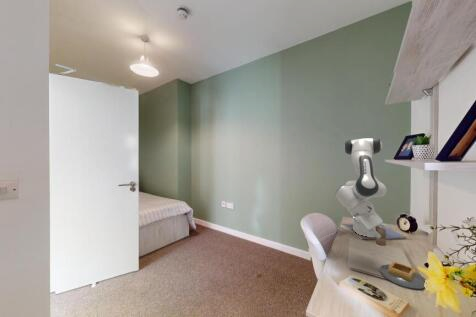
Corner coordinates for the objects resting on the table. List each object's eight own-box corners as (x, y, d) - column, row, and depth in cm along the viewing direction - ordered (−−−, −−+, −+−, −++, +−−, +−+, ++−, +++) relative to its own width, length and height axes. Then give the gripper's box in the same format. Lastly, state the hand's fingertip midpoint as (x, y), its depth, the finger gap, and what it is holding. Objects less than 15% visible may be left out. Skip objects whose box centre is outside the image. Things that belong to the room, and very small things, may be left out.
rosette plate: (386, 263, 96) (386, 255, 96) (429, 279, 83) (429, 269, 83) (375, 275, 87) (375, 266, 87) (422, 295, 74) (422, 284, 74)
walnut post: (377, 241, 95) (377, 226, 95) (387, 244, 92) (386, 228, 92) (374, 243, 93) (374, 228, 93) (384, 246, 90) (384, 230, 90)
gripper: (356, 212, 92) (380, 238, 84) (372, 206, 104) (394, 228, 96) (347, 218, 96) (369, 244, 88) (363, 212, 107) (384, 234, 99)
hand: (382, 235), depth 92 cm, fingers closed on walnut post, 4 cm apart
